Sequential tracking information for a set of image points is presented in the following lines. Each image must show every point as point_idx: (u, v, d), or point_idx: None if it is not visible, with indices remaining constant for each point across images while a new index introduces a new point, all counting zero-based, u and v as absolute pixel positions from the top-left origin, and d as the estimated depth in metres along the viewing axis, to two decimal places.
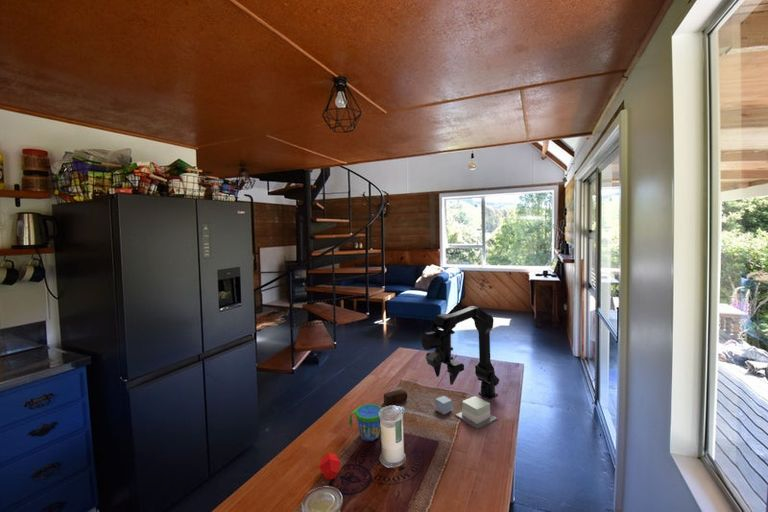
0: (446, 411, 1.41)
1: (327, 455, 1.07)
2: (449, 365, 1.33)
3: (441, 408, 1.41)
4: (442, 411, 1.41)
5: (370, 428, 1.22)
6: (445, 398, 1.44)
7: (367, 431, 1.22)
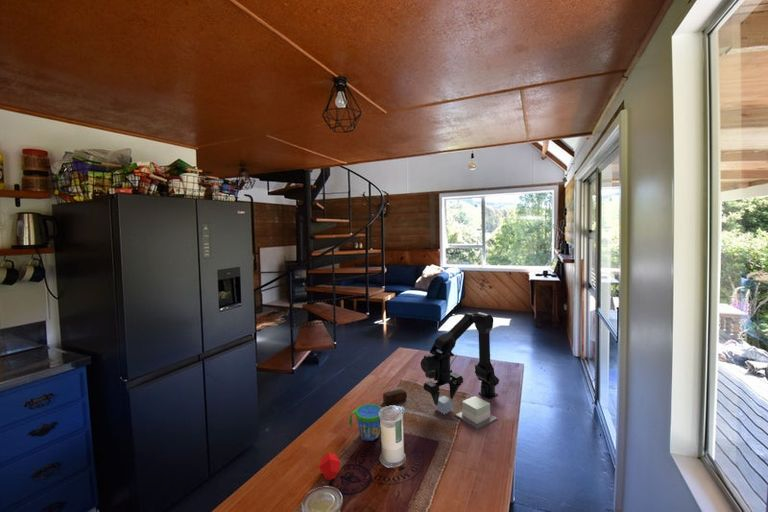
0: (446, 411, 1.41)
1: (327, 455, 1.07)
2: None
3: (441, 408, 1.41)
4: (442, 411, 1.41)
5: (370, 428, 1.22)
6: (445, 398, 1.44)
7: (367, 431, 1.22)
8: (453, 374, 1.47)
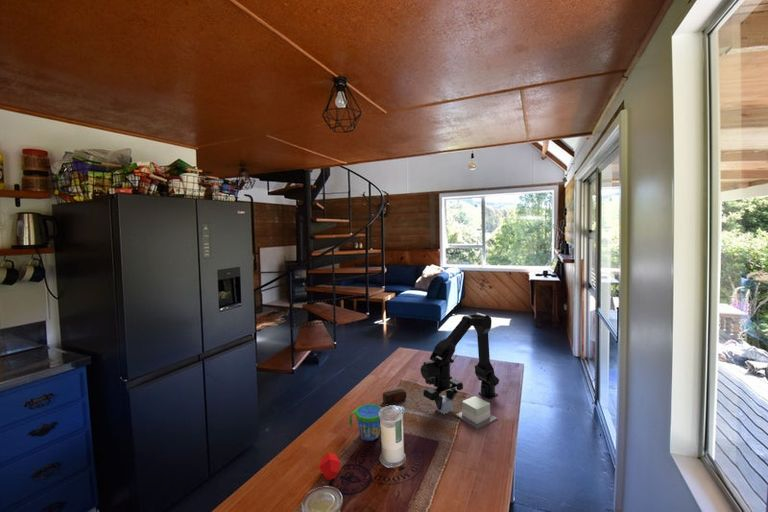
0: (446, 411, 1.41)
1: (327, 455, 1.07)
2: None
3: (441, 408, 1.41)
4: (442, 411, 1.41)
5: (370, 428, 1.22)
6: (445, 398, 1.44)
7: (367, 431, 1.22)
8: (453, 380, 1.48)
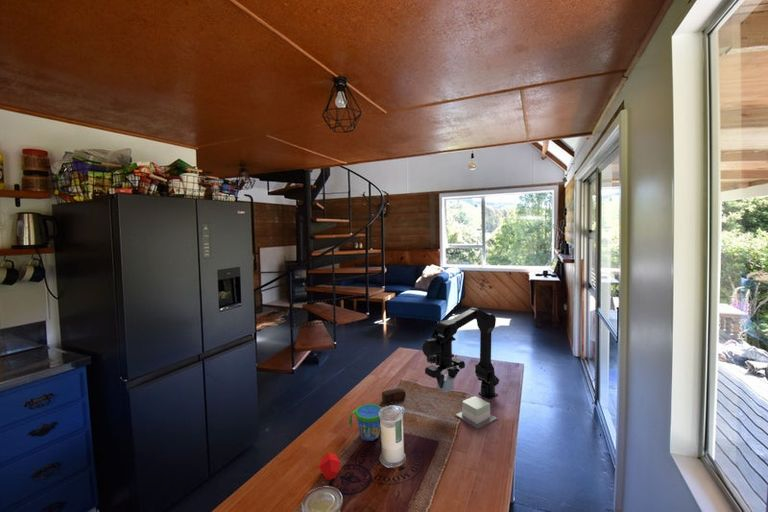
0: (448, 389, 1.40)
1: (327, 455, 1.07)
2: None
3: (443, 386, 1.40)
4: (444, 389, 1.40)
5: (370, 428, 1.22)
6: (447, 376, 1.43)
7: (367, 431, 1.22)
8: (455, 359, 1.47)
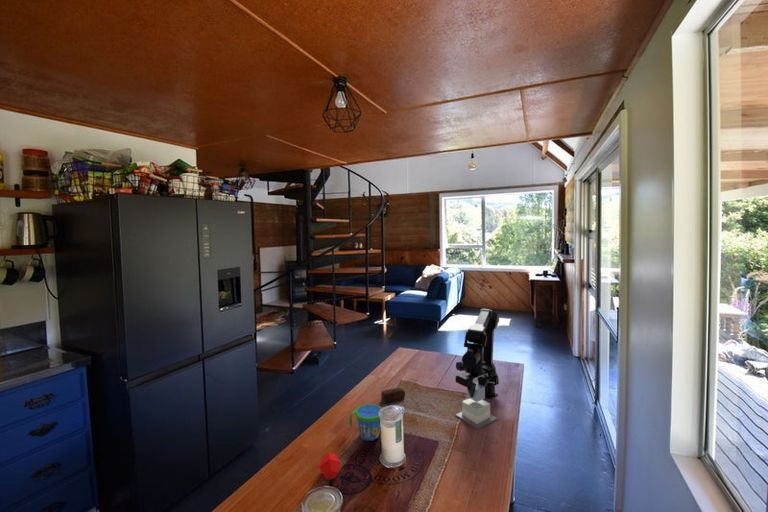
0: (479, 398, 1.34)
1: (327, 455, 1.07)
2: None
3: (474, 395, 1.34)
4: (475, 398, 1.34)
5: (370, 428, 1.22)
6: (477, 385, 1.37)
7: (367, 431, 1.22)
8: (485, 366, 1.41)
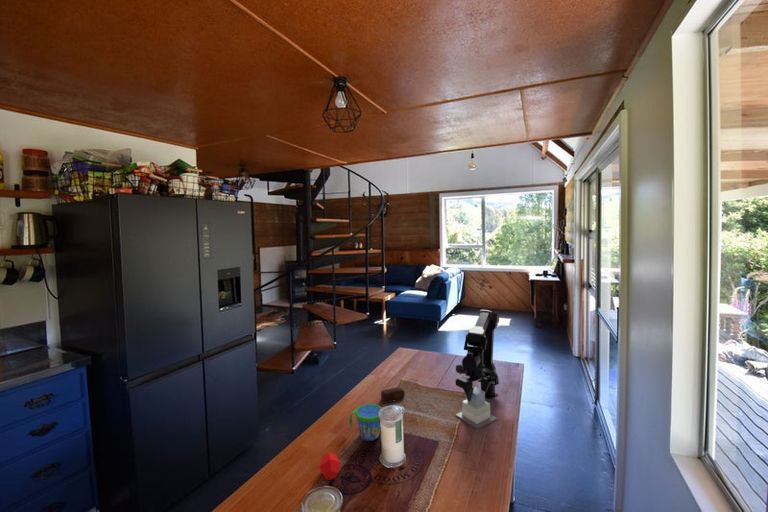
0: (479, 403, 1.34)
1: (327, 455, 1.07)
2: None
3: (474, 400, 1.34)
4: (475, 403, 1.34)
5: (370, 428, 1.22)
6: (477, 389, 1.38)
7: (367, 431, 1.22)
8: (485, 369, 1.41)
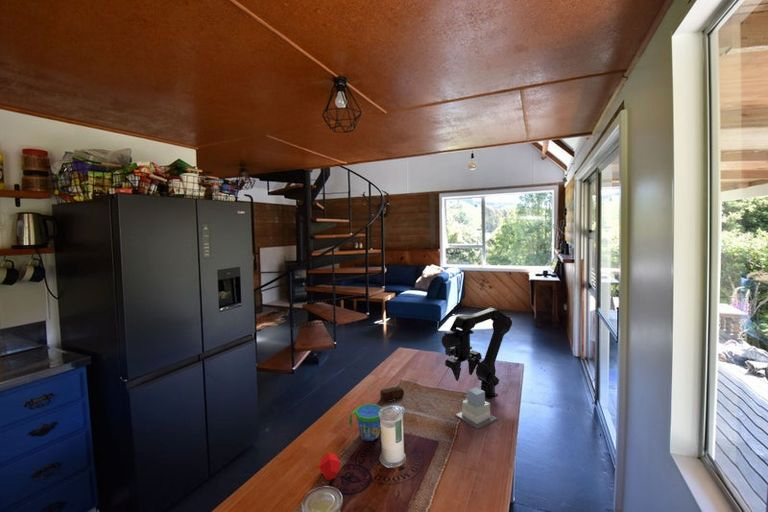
0: (479, 403, 1.34)
1: (327, 455, 1.07)
2: None
3: (474, 400, 1.34)
4: (475, 403, 1.34)
5: (370, 428, 1.22)
6: (477, 389, 1.38)
7: (367, 431, 1.22)
8: (471, 351, 1.53)
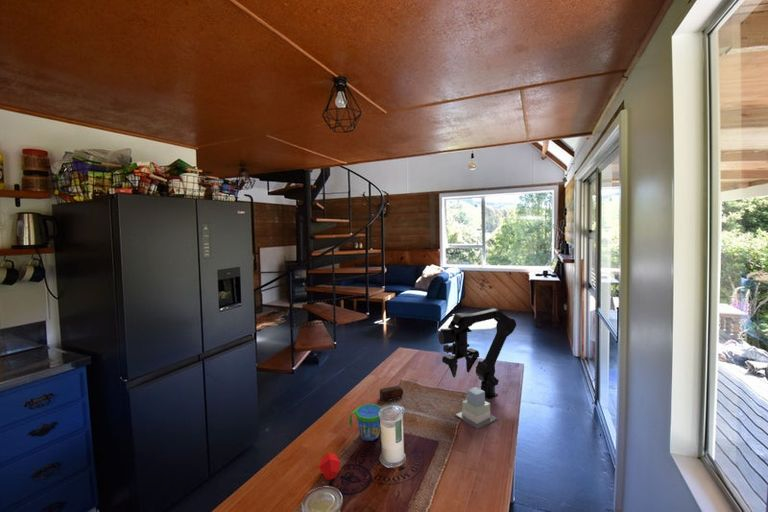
0: (479, 403, 1.34)
1: (327, 455, 1.07)
2: None
3: (474, 400, 1.34)
4: (475, 403, 1.34)
5: (370, 428, 1.22)
6: (477, 389, 1.38)
7: (367, 431, 1.22)
8: (469, 349, 1.56)
